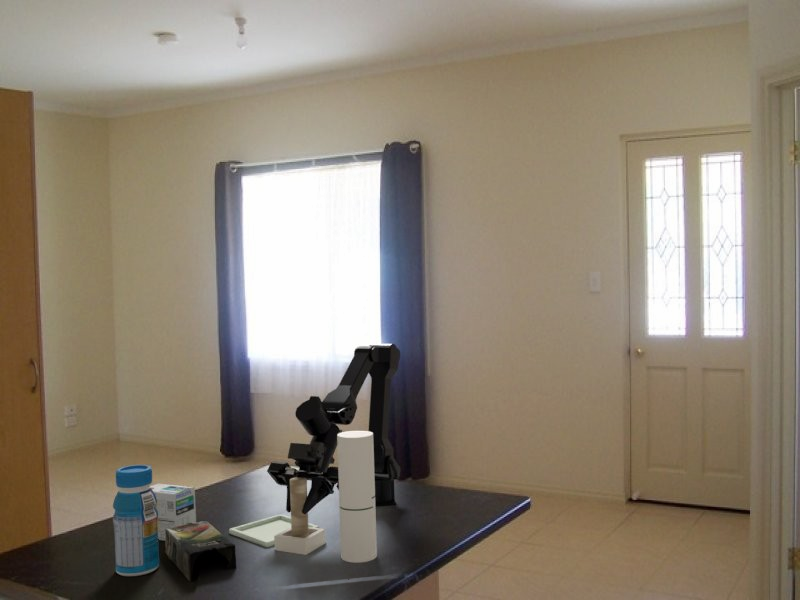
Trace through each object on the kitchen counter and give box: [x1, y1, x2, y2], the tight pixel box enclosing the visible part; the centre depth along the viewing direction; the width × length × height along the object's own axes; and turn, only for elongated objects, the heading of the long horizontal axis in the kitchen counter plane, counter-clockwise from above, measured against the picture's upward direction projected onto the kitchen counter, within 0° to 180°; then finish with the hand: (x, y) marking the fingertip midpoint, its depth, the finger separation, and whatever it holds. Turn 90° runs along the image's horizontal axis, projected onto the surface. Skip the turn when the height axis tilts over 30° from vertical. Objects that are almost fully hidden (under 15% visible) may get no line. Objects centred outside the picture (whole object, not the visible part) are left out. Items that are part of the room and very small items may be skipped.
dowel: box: [290, 477, 309, 538], centre depth 163 cm, size 4×4×14 cm
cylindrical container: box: [337, 430, 378, 563], centre depth 156 cm, size 7×7×25 cm
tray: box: [228, 513, 320, 548], centre depth 173 cm, size 14×14×2 cm
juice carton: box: [165, 521, 237, 582], centre depth 158 cm, size 20×10×6 cm, turn 30°
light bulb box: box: [149, 483, 197, 541], centre depth 175 cm, size 11×7×11 cm, turn 65°
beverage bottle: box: [112, 464, 160, 577], centre depth 154 cm, size 8×8×20 cm
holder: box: [274, 527, 327, 556], centre depth 164 cm, size 8×8×4 cm
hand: (295, 512), depth 162 cm, fingers closed on dowel, 3 cm apart
